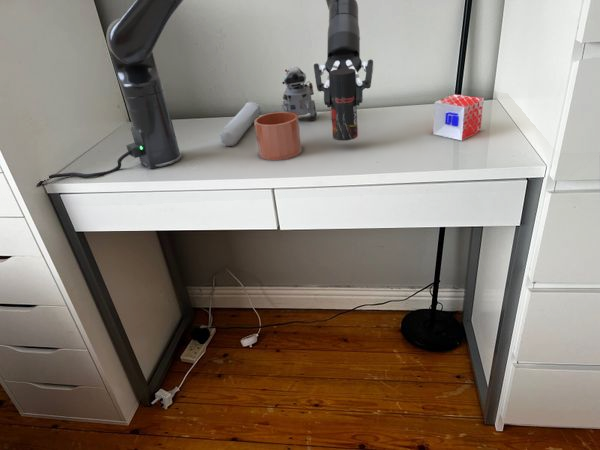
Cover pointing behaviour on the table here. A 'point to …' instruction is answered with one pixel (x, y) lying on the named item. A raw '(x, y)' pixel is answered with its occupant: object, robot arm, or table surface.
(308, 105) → the figurine
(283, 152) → the cup
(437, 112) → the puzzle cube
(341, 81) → the deodorant
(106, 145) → the table surface
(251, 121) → the tube
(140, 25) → the robot arm
